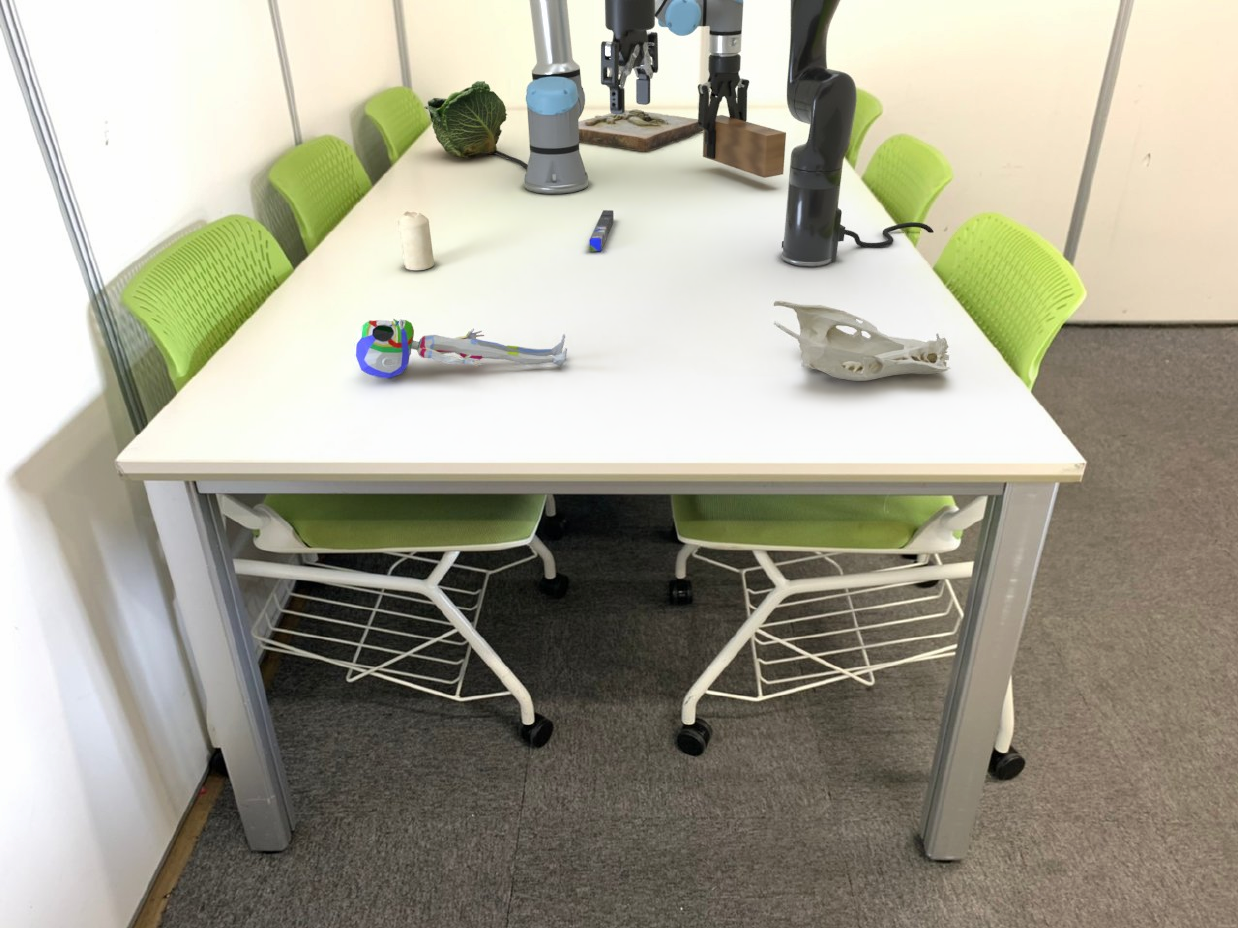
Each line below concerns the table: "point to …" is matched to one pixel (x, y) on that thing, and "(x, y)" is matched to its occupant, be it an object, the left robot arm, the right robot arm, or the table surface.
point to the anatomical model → (860, 346)
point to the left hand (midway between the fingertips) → (721, 155)
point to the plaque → (636, 130)
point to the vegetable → (468, 120)
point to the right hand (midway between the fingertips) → (630, 108)
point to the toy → (435, 349)
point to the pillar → (601, 230)
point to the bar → (748, 146)
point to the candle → (416, 241)
